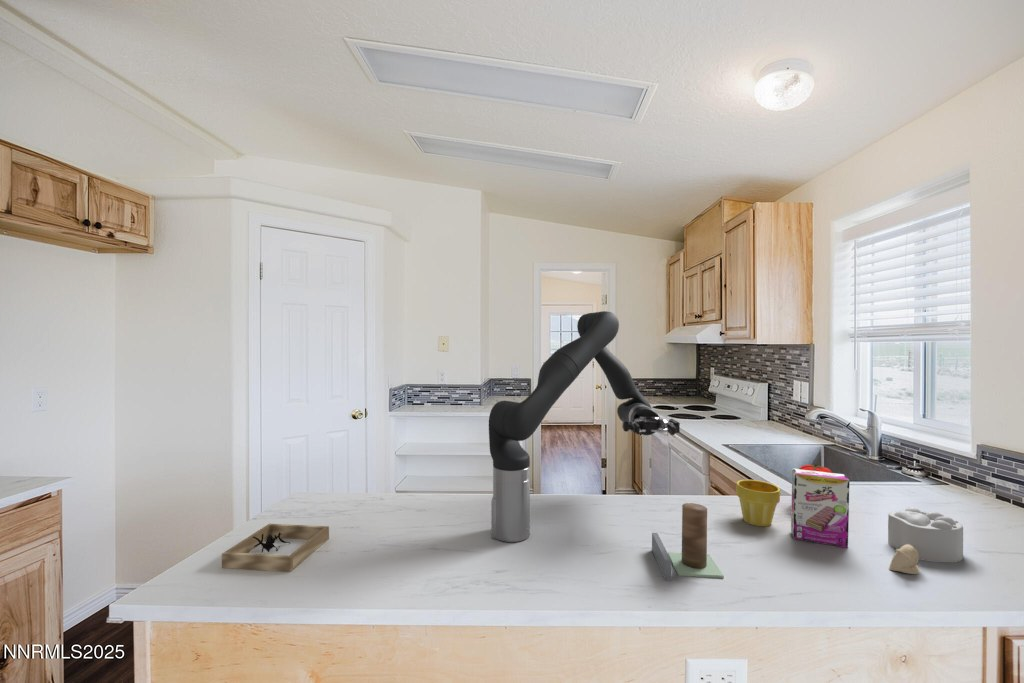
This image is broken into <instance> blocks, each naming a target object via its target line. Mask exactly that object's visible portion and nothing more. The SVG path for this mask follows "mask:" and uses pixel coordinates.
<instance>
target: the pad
mask: <svg viewBox="0 0 1024 683" xmlns="http://www.w3.org/2000/svg"><path fill="white" fill-rule="evenodd" d="M667 553H668V555H669V557H670V559H671V565H673V568H674V570H675V572H676V574H677V575H678V576H680V577H681V576H682V577H698V578H715V579H724V578H725V575H724V574H723V572H722V571H721V570H720V568H719V567H718V566H717V564H716V563H715V561H714V560H713V558H712V557H711V555H710V554H708V553H707V566H706V567H705V568H702V569H697V568H691V567H688V566H686V565H685V564H683V563H682V552H668V551H667Z"/></svg>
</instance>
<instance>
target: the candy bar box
mask: <svg viewBox="0 0 1024 683" xmlns="http://www.w3.org/2000/svg"><path fill="white" fill-rule="evenodd" d="M849 509H850V479H849V478H848V477H847V476H846V475H845V474H844V473H835V472H833V473H828V472H819V471H811V470H802V469H799V468H792V469H791V510H790V512H791V514H790V518H791V520H790V524H791V525H790V531H791V534H792V538H793V539H794V540H799V541H806V542H811V543H817V544H823V545H828V546H835V547H841V548H846V549H847V548H848V547H849V520H850V518H849V517H850V515H849V514H850V510H849Z"/></svg>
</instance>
